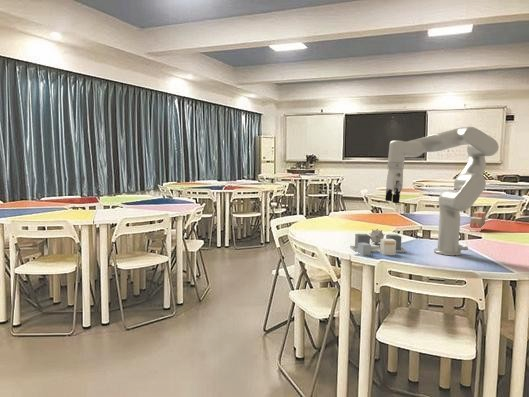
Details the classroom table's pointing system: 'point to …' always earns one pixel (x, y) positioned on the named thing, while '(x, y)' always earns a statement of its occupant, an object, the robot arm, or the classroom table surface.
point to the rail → (366, 239)
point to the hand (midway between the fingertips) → (392, 201)
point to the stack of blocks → (478, 219)
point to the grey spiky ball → (376, 236)
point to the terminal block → (364, 249)
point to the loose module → (388, 246)
